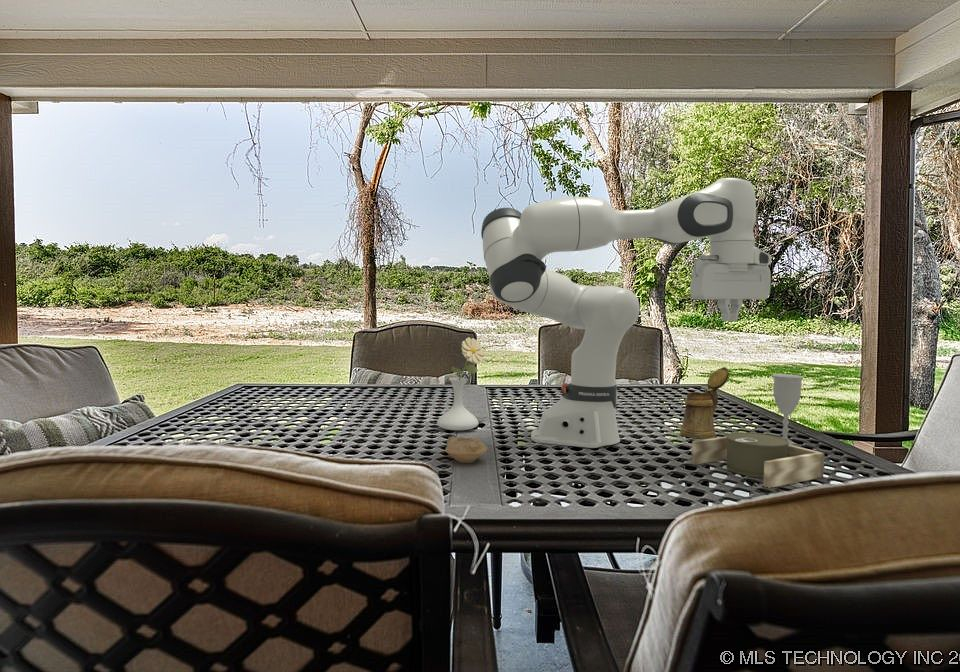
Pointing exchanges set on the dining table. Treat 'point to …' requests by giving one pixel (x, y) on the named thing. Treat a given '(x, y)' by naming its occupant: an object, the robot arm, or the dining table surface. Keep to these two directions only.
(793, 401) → the chalice
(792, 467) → the box
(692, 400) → the wooden mug
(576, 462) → the dining table surface
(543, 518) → the dining table surface
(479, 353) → the flower in vase
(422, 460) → the dining table surface
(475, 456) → the pottery oil lamp
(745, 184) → the robot arm
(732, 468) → the can
